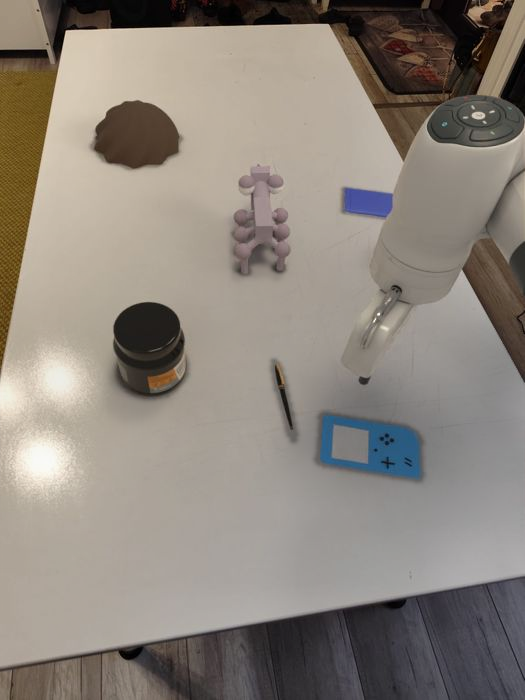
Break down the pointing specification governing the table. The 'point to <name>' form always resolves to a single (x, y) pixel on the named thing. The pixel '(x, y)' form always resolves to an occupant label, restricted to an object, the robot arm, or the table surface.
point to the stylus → (364, 380)
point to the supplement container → (149, 348)
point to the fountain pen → (283, 394)
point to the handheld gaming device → (376, 447)
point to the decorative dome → (136, 135)
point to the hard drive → (368, 202)
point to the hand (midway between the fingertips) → (381, 342)
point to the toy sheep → (261, 217)
